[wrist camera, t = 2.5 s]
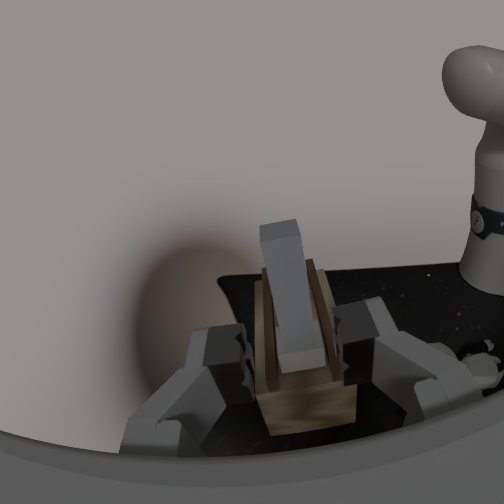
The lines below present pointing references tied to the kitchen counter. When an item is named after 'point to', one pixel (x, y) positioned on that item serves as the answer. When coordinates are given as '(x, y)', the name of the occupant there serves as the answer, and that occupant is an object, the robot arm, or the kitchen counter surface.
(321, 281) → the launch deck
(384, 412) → the kitchen counter surface
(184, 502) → the robot arm
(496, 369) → the robot toy
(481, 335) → the kitchen counter surface
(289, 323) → the tall post on base
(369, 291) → the kitchen counter surface
